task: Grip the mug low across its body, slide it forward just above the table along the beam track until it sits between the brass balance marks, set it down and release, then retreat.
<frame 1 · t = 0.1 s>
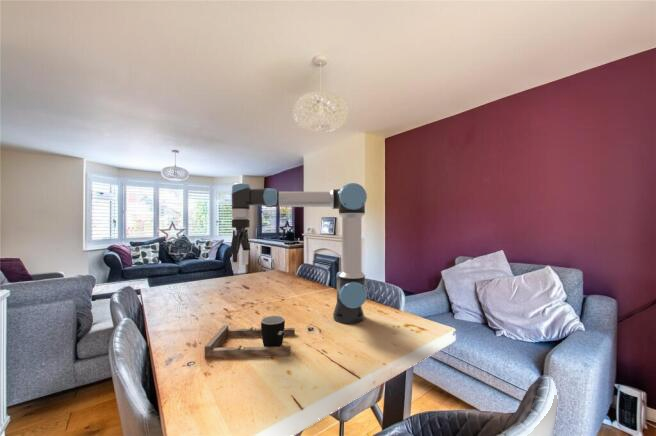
hand: (240, 267, 118), 28 cm above the table, fingers open, 13 cm apart
beam track: (256, 344, 105), on the table
mug: (274, 344, 105), on the table
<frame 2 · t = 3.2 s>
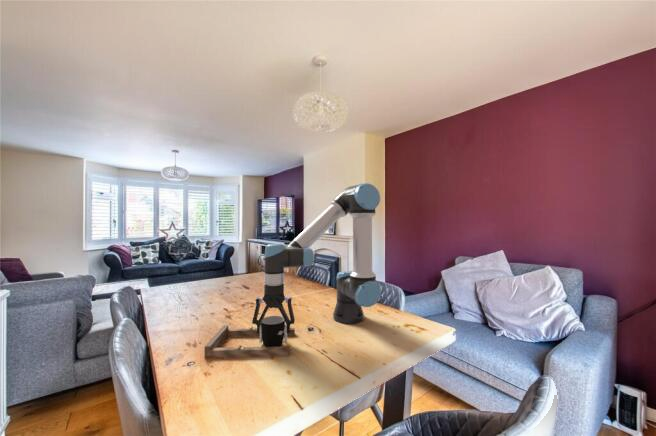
hand: (273, 341, 105), 1 cm above the table, fingers closed on mug, 9 cm apart
mug: (274, 344, 105), on the table, touching gripper
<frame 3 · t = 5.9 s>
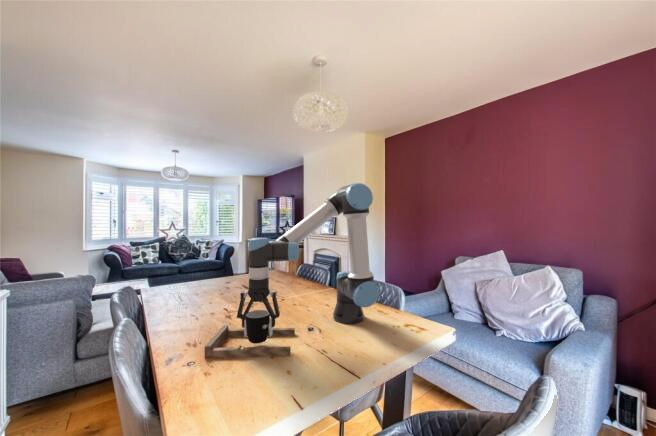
hand: (258, 335, 105), 4 cm above the table, fingers closed on mug, 9 cm apart
mug: (259, 338, 105), point 2 cm above the table, touching gripper
when the fingers open (1 cm above the table, at t = 8.3 s): mug stays where it is, on the table.
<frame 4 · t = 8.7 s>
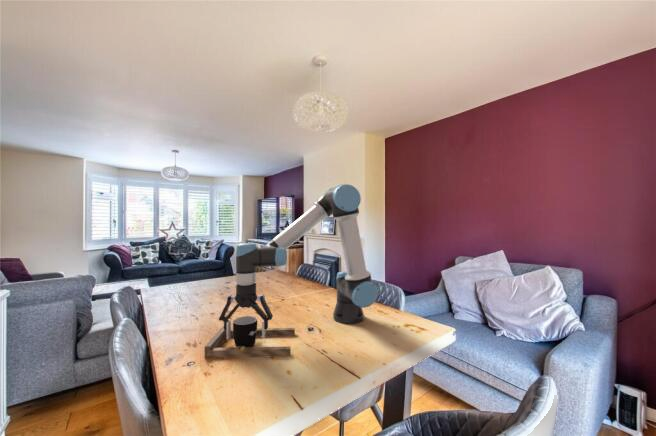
hand: (246, 337, 104), 3 cm above the table, fingers open, 13 cm apart
mug: (247, 345, 104), on the table
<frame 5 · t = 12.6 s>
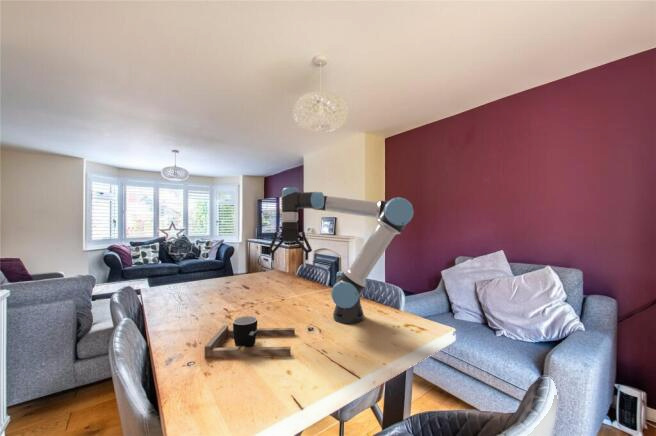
hand: (290, 267, 124), 27 cm above the table, fingers open, 13 cm apart
nothing on the table moved.
at the end: mug inside the target area (0.9 cm from its centre), on the table; mug tilted 0°; the gripper is holding nothing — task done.
